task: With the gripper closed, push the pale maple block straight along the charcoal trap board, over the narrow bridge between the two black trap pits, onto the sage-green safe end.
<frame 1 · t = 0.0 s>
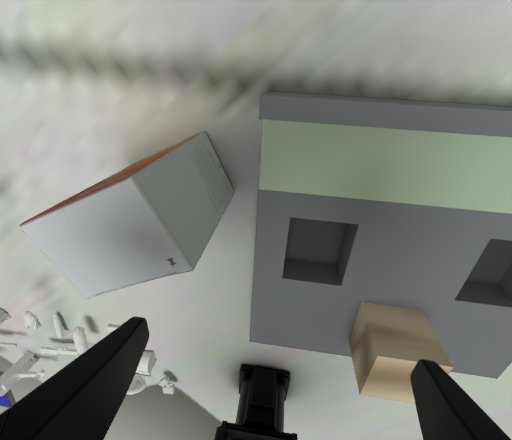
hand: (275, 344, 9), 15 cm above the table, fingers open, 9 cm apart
trap board: (392, 252, 23), on the table
maple block: (382, 325, 23), point 3 cm above the table, touching trap board
small box: (182, 178, 22), on the table
miniature set: (58, 334, 37), on the table
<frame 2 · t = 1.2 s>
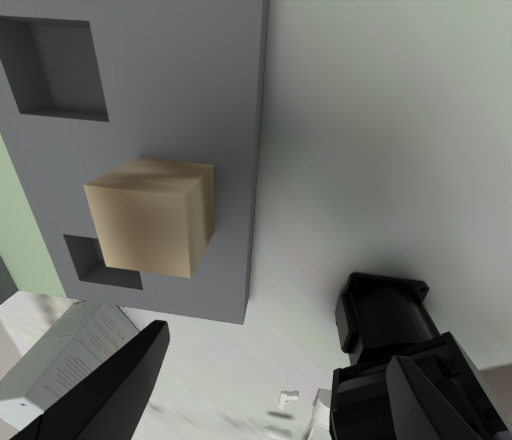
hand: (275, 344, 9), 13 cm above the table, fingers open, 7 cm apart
trap board: (121, 173, 21), on the table
maple block: (178, 196, 18), point 3 cm above the table, touching trap board
small box: (112, 321, 31), on the table
miniature set: (301, 438, 39), on the table
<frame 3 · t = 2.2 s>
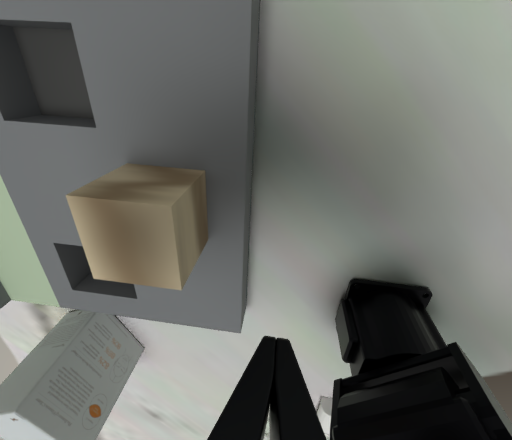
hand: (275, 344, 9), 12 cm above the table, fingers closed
trap board: (112, 179, 20), on the table
maple block: (170, 203, 17), point 3 cm above the table, touching trap board
small box: (109, 329, 30), on the table
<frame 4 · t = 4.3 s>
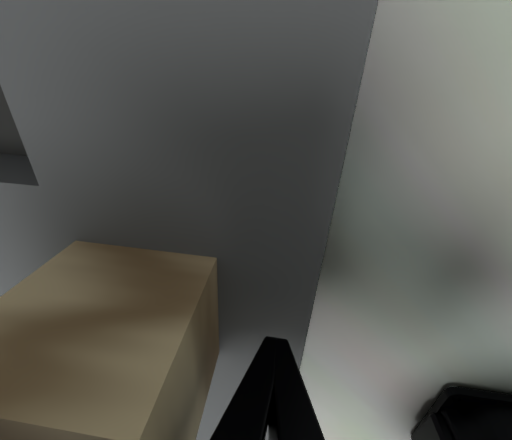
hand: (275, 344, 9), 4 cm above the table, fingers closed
trap board: (86, 244, 13), on the table
maple block: (154, 302, 10), point 3 cm above the table, touching gripper
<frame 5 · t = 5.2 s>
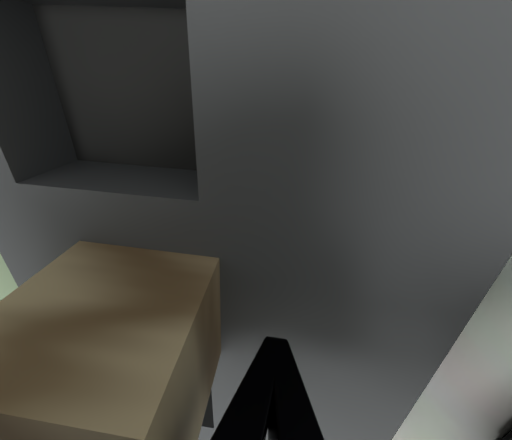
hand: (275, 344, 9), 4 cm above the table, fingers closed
trap board: (184, 255, 13), on the table
maple block: (157, 301, 10), point 3 cm above the table, touching gripper
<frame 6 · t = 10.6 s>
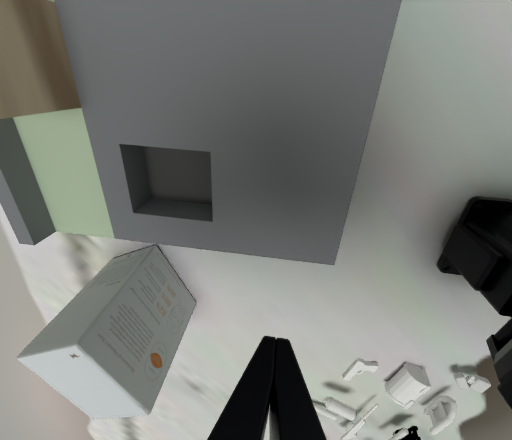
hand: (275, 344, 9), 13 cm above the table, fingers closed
trap board: (191, 67, 17), on the table
maple block: (28, 57, 15), point 3 cm above the table, touching trap board
small box: (157, 279, 26), on the table
miniature set: (341, 417, 35), on the table
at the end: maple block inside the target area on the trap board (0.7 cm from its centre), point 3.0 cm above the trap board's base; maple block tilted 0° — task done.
